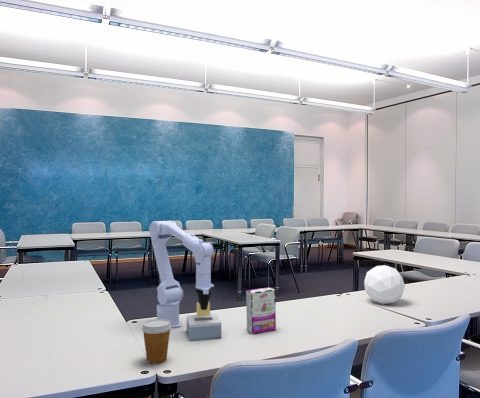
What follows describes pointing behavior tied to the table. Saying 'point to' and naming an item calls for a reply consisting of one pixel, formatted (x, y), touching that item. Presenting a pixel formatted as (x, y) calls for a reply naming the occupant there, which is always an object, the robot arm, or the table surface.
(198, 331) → the coin box
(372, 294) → the polyhedron
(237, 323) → the table surface
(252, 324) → the candy bar box
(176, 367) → the table surface
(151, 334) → the disposable coffee cup
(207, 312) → the block
